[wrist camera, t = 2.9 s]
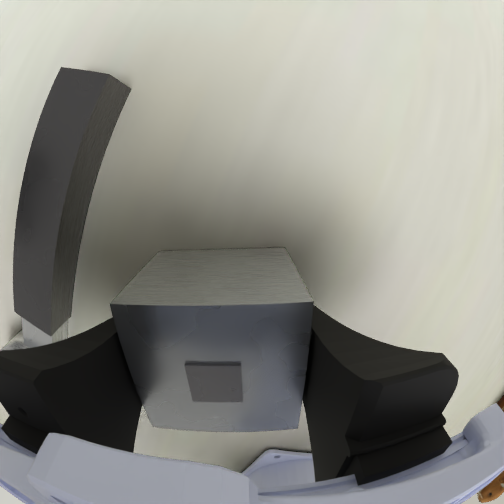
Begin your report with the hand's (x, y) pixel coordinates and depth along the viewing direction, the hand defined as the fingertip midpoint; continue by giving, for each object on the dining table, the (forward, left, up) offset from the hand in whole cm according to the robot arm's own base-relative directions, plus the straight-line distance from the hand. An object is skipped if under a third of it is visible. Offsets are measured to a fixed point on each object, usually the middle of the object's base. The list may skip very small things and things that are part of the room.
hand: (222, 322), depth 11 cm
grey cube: (0, 0, -1) cm, 1 cm away
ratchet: (+9, +4, -1) cm, 10 cm away
